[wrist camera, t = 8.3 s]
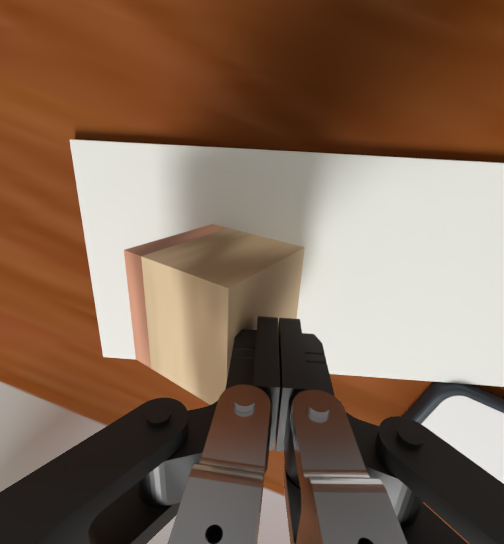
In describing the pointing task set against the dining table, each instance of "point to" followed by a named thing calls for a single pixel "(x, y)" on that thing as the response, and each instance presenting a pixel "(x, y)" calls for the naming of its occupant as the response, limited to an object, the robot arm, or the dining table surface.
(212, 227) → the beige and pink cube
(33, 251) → the dining table surface
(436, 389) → the phone case
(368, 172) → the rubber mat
